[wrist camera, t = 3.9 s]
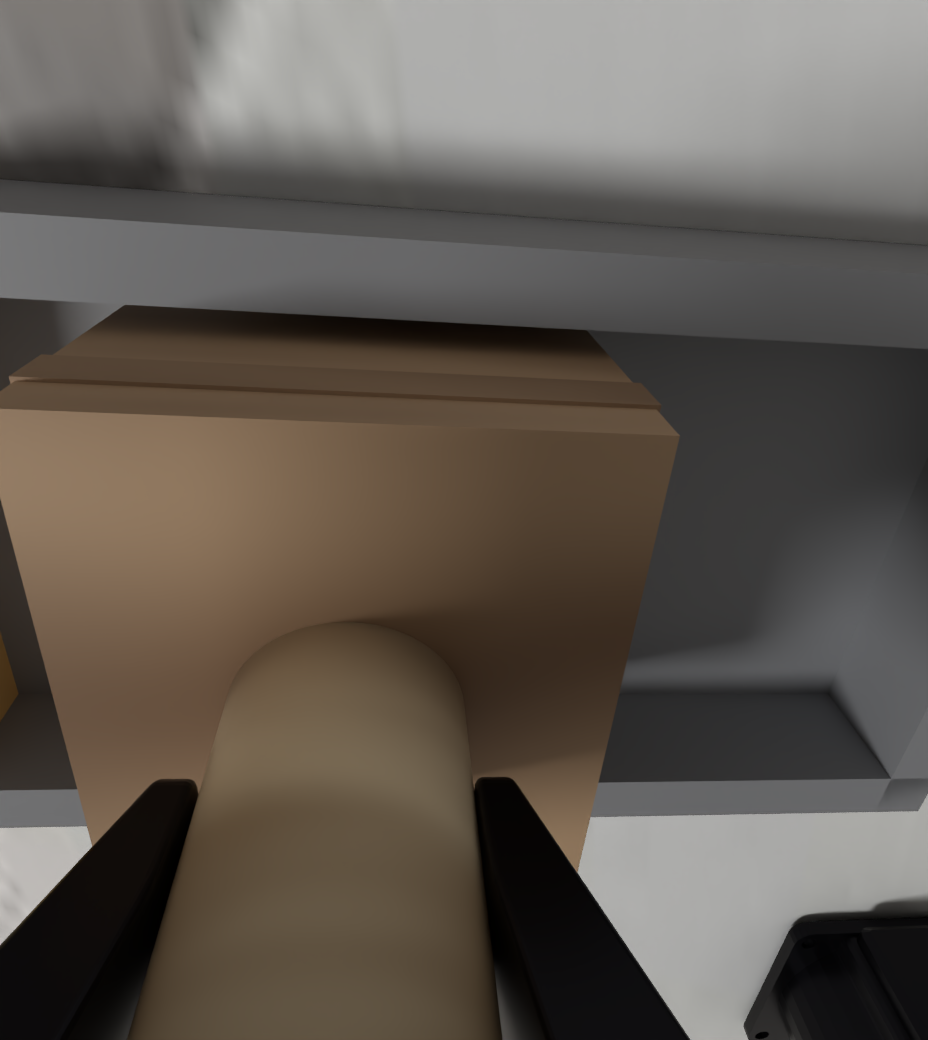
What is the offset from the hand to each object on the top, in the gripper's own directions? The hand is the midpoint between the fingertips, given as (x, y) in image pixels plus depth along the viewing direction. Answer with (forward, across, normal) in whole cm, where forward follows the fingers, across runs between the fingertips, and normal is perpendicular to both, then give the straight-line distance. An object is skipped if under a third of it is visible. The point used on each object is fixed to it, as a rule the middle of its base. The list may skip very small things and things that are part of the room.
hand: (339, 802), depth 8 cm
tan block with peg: (+6, 0, 0) cm, 6 cm away
